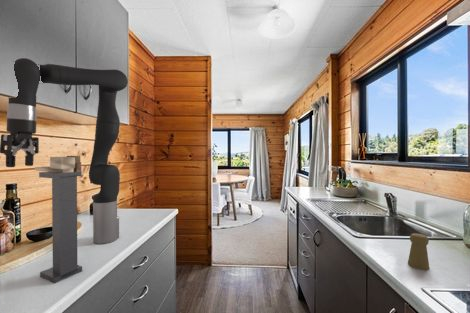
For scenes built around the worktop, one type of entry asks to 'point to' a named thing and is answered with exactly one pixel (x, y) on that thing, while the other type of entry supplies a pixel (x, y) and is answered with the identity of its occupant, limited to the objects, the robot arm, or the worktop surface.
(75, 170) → the offcuts
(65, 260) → the rack
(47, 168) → the slat
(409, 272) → the worktop surface
